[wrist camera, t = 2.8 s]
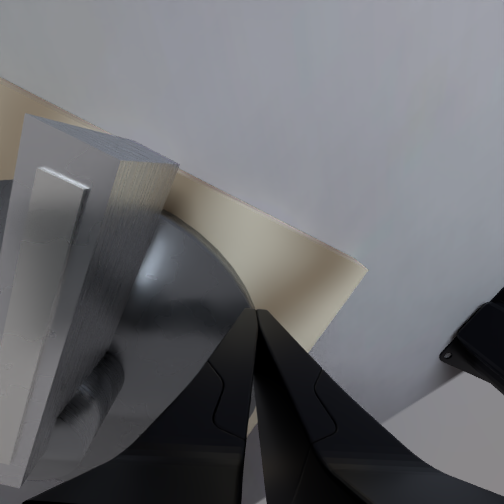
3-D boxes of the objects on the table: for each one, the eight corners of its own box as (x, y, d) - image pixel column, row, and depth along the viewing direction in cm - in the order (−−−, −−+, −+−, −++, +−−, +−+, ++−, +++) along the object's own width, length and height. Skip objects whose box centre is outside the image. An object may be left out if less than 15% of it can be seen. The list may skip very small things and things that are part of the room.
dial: (188, 486, 16) (163, 632, 11) (-102, 411, 13) (-322, 565, 8) (350, 249, 10) (447, 323, 5) (-89, 21, 7) (-778, -282, 2)
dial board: (354, 258, 12) (369, 271, 11) (204, 473, 18) (201, 501, 17) (-74, 39, 9) (-140, 12, 7) (-92, 392, 15) (-131, 418, 13)
